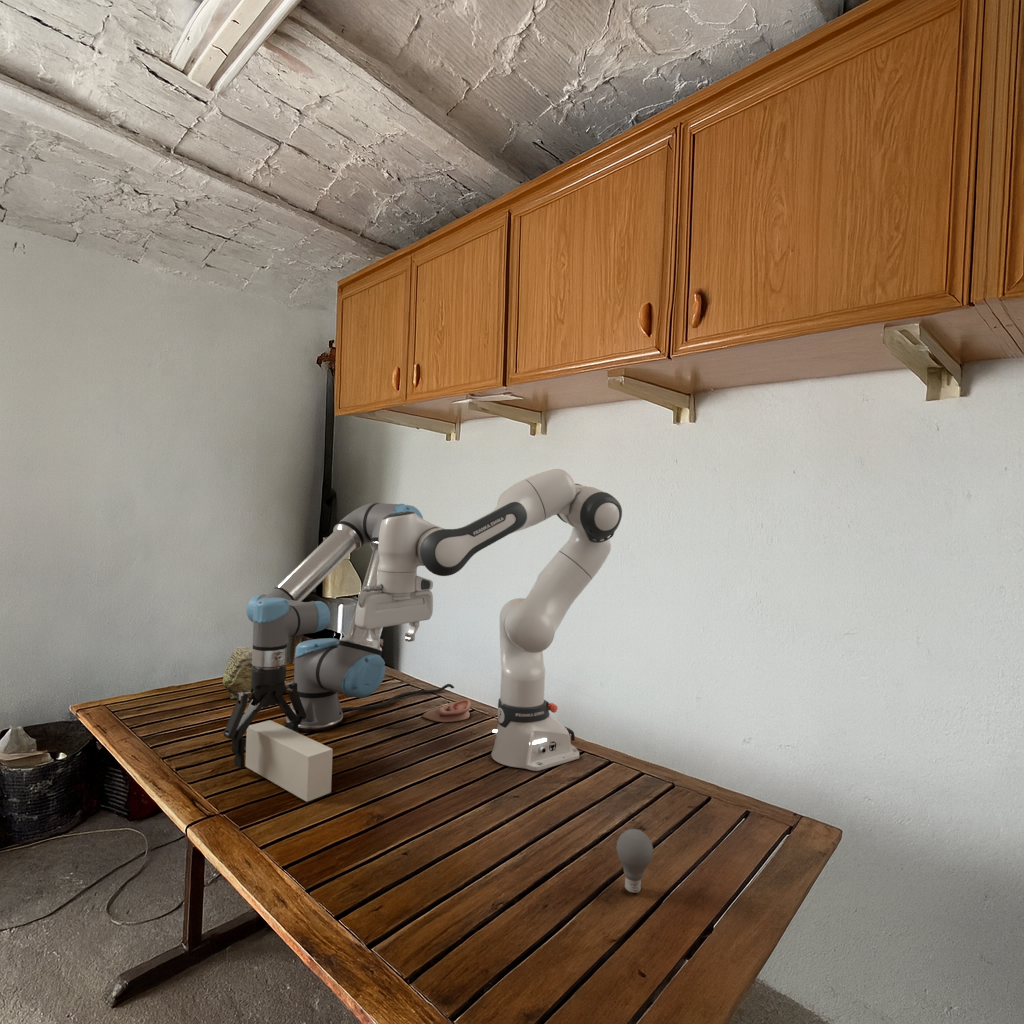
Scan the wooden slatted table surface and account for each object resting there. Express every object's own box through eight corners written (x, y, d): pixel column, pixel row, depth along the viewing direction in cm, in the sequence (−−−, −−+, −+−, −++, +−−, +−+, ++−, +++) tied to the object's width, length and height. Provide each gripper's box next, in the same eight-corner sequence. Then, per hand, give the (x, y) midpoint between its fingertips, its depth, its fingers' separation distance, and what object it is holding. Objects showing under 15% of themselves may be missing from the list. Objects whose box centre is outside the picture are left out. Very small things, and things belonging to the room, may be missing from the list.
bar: (245, 766, 147) (246, 726, 147) (268, 759, 151) (270, 719, 151) (306, 802, 131) (308, 756, 131) (331, 792, 136) (332, 748, 136)
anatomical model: (419, 705, 182) (432, 694, 193) (418, 719, 182) (431, 707, 193) (463, 711, 179) (474, 698, 190) (463, 725, 179) (473, 712, 190)
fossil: (218, 695, 195) (220, 647, 195) (278, 685, 208) (279, 640, 207) (228, 703, 189) (230, 653, 188) (289, 692, 201) (290, 645, 201)
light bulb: (610, 879, 108) (613, 822, 108) (644, 879, 109) (647, 822, 109) (619, 902, 102) (622, 840, 102) (655, 901, 103) (658, 840, 103)
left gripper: (226, 679, 135) (222, 779, 135) (323, 660, 154) (320, 748, 154) (209, 671, 139) (205, 769, 140) (305, 654, 158) (302, 740, 159)
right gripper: (368, 588, 133) (366, 654, 133) (438, 581, 149) (435, 639, 149) (350, 585, 137) (347, 648, 137) (419, 578, 153) (417, 635, 153)
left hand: (265, 758), depth 147 cm, fingers open, 12 cm apart
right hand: (394, 644), depth 143 cm, fingers open, 8 cm apart
